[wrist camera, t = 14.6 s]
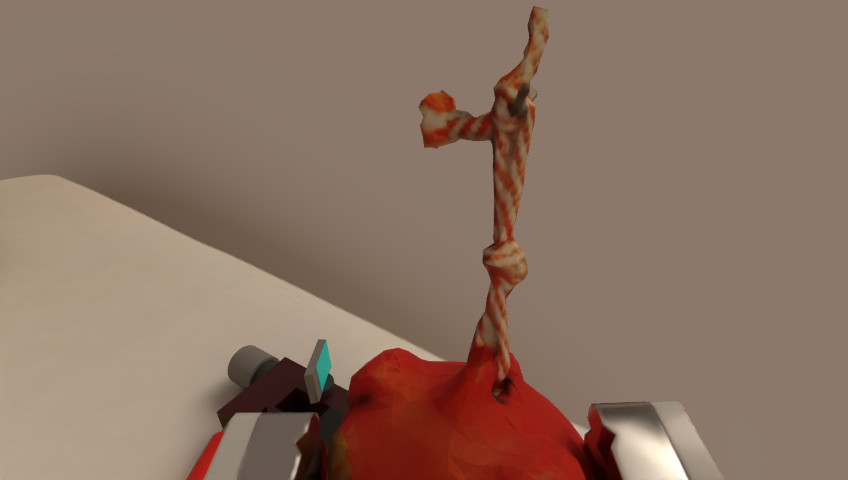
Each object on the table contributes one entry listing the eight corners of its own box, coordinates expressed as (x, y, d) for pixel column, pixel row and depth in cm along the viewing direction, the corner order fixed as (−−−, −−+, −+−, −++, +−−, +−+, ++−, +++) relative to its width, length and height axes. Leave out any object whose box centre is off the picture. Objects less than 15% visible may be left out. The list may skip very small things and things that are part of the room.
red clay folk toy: (267, 668, 13) (-25, 61, 5) (434, 471, 17) (402, -1, 10) (533, 1010, 8) (952, 328, 1) (661, 627, 13) (904, 0, 6)
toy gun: (258, 355, 34) (241, 299, 32) (397, 431, 28) (389, 369, 26) (119, 461, 27) (84, 400, 25) (262, 592, 21) (234, 528, 19)
